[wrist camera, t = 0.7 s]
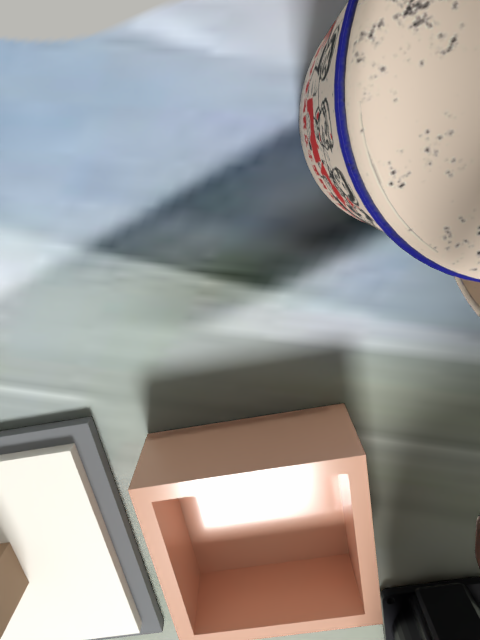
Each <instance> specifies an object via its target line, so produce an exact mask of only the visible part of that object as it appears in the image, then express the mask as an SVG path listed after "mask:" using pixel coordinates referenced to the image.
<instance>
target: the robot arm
mask: <svg viewBox="0 0 480 640" xmlns="http://www.w3.org/2000/svg"><path fill="white" fill-rule="evenodd" d="M475 554H476V559H477V563H478V566H479V568H480V515H479V516H478V517H477V521H476V543H475ZM380 598H381V608H382V618H383V628H384V638H385V640H480V577H473V578H465V579H457V580H450V581H442V582H434V583H426V584H418V585H410V586H402V587H394V588H387V589H384V590H383V591H382V592H381V593H380Z"/></svg>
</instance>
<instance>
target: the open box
mask: <svg viewBox="0 0 480 640" xmlns="http://www.w3.org/2000/svg"><path fill="white" fill-rule="evenodd" d="M128 491H129V494H130V497H131V500H132V503H133V506H134V509H135V512H136V515H137V518H138V521H139V523H140V526H141V529H142V532H143V535H144V538H145V541H146V544H147V547H148V550H149V553H150V556H151V559H152V562H153V565H154V567H155V570H156V573H157V576H158V579H159V582H160V585H161V588H162V591H163V594H164V597H165V600H166V603H167V606H168V608H169V611H170V614H171V617H172V620H173V623H174V626H175V629H176V632H177V635H178V638H179V640H253V639H262V638H270V637H278V636H286V635H295V634H303V633H311V632H320V631H328V630H336V629H344V628H353V627H361V626H369V625H377V624H383V618H382V608H381V598H380V588H379V579H378V569H377V559H376V549H375V540H374V530H373V520H372V510H371V501H370V491H369V481H368V472H367V462H366V454H365V452H364V449H363V447H362V445H361V442H360V440H359V438H358V435H357V433H356V430H355V428H354V426H353V423H352V421H351V419H350V416H349V414H348V411H347V409H346V407H345V404H344V403H342V404H335V405H329V406H323V407H316V408H310V409H303V410H297V411H291V412H284V413H278V414H271V415H265V416H259V417H252V418H246V419H239V420H233V421H227V422H220V423H214V424H207V425H201V426H195V427H188V428H182V429H175V430H169V431H163V432H156V433H150V434H147V437H146V440H145V443H144V446H143V449H142V451H141V454H140V457H139V460H138V463H137V466H136V469H135V471H134V474H133V477H132V480H131V483H130V486H129V489H128Z"/></svg>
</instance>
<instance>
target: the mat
mask: <svg viewBox="0 0 480 640" xmlns="http://www.w3.org/2000/svg"><path fill="white" fill-rule="evenodd" d="M73 443H75V446H76V449H77V451H78V454H79V457H80V459H81V462H82V464H83V467H84V470H85V472H86V475H87V478H88V480H89V483H90V486H91V488H92V491H93V494H94V496H95V499H96V502H97V504H98V507H99V510H100V512H101V515H102V518H103V520H104V523H105V526H106V528H107V531H108V534H109V536H110V539H111V541H112V544H113V547H114V549H115V552H116V555H117V557H118V560H119V563H120V565H121V568H122V571H123V573H124V576H125V579H126V581H127V584H128V587H129V589H130V592H131V595H132V597H133V600H134V603H135V605H136V608H137V611H138V613H139V616H140V618H141V621H142V626H141V630H140V633H136V634H128V635H120V636H112V637H104V638H96V639H88V640H103V639H111V638H119V637H127V636H135V635H143V634H151V633H159V632H162V631H163V626H164V621H163V618H162V615H161V612H160V609H159V606H158V603H157V601H156V598H155V595H154V592H153V589H152V586H151V584H150V581H149V578H148V575H147V572H146V569H145V566H144V564H143V561H142V558H141V555H140V552H139V549H138V547H137V544H136V541H135V538H134V535H133V532H132V529H131V527H130V524H129V521H128V518H127V515H126V512H125V510H124V507H123V504H122V501H121V498H120V495H119V493H118V490H117V487H116V484H115V481H114V478H113V475H112V473H111V470H110V467H109V464H108V461H107V458H106V456H105V453H104V450H103V447H102V444H101V441H100V438H99V436H98V433H97V430H96V427H95V424H94V421H93V419H92V416H91V417H85V418H79V419H73V420H66V421H60V422H54V423H48V424H41V425H35V426H29V427H23V428H17V429H10V430H4V431H0V455H3V454H9V453H15V452H22V451H28V450H35V449H41V448H47V447H54V446H60V445H66V444H73Z"/></svg>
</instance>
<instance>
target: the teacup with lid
mask: <svg viewBox="0 0 480 640" xmlns="http://www.w3.org/2000/svg"><path fill="white" fill-rule="evenodd" d="M299 125H300V136H301V143H302V148H303V152H304V156H305V158H306V161H307V164H308V167H309V169H310V171H311V173H312V175H313V177H314V179H315V180H316V182H317V184H318V185H319V187H320V188H321V189H322V191H323V192H324V193H325V194H326V196H327V197H328V198H329V199H330V200H331V201H332V202H333V203H334V204H335V205H337V206H338V207H339V208H340V209H342V210H343V211H344V212H346V213H347V214H349V215H351V216H353V217H354V218H356V219H358V220H361V221H363V222H365V223H367V224H369V225H371V226H373V227H375V228H377V229H379V230H381V231H383V232H385V233H386V234H387V236H389V237H390V238H391V239H392V240H393V241H394V242H395V243H396V244H397V245H398V246H400V247H401V248H402V249H403V250H405V251H406V252H407V253H409V254H410V255H412V256H413V257H414V258H416V259H418V260H419V261H421V262H423V263H425V264H426V265H428V266H430V267H432V268H434V269H437V270H439V271H441V272H444V273H446V274H449V275H452V276H454V277H455V280H456V282H457V284H458V286H459V288H460V290H461V292H462V293H463V295H464V297H465V298H466V300H467V301H468V303H469V304H470V306H471V307H472V308H473V310H474V311H475V312H476V313H477V315H478V316H479V317H480V0H349V1H348V2H347V4H346V5H345V7H344V8H343V10H342V11H341V13H340V14H339V16H338V17H337V19H336V20H335V22H334V24H333V25H332V27H331V28H330V30H329V31H328V33H327V34H326V36H325V37H324V39H323V41H322V42H321V44H320V45H319V47H318V49H317V51H316V53H315V55H314V57H313V59H312V61H311V64H310V66H309V69H308V72H307V75H306V78H305V81H304V85H303V90H302V94H301V101H300V113H299Z"/></svg>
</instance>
